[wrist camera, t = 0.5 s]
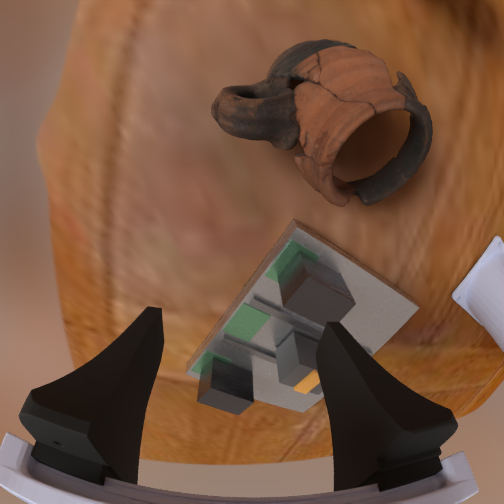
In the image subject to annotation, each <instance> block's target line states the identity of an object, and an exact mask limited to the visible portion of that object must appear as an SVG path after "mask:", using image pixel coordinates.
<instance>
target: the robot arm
mask: <svg viewBox="0 0 504 504" xmlns="http://www.w3.org/2000/svg"><path fill="white" fill-rule="evenodd" d="M452 298H453V299H454V300H455V301H456V302H457V303H458V304H459V305H460V306H461V307H462V308H463V309H464V310H466V311H467V312H468V313H469V314H470V315H471V316H472V317H473V318H474V319H475V320H476V321H477V322H478V323H479V324H480V325H483V326H484V328H485V329H486V330H487V331H488V333H489V334H490V335H491V336H492V338H493V339H494V340H495V342H496V343H497V344H498V346H499V347H500V348H501V350H502V351H503V352H504V243H503V241H502V239H501V238H500V237H499V236H495V238H494V239H493V240H492V242H491V243H490V245H489V246H488V248H487V249H486V250H485V252H484V253H483V255H482V256H481V257H480V259H479V260H478V261H477V263H476V264H475V265H474V267H473V268H472V269H471V271H470V272H469V273H468V275H467V276H466V277H465V278H464V280H463V281H462V282H461V283H460V285H459V286H458V287H457V288H456V289H455V291H454V292H453V293H452ZM163 347H164V333H163V321H162V308H156V307H149V306H148V307H147V308H146V309H145V310H144V311H143V312H142V313H141V314H140V315H139V316H138V317H137V318H136V320H135V321H134V322H133V323H132V324H131V325H130V326H129V327H128V328H127V329H126V330H125V331H124V332H123V333H122V334H121V335H120V336H119V337H118V338H117V339H116V340H115V341H113V342H112V343H111V344H110V345H109V346H108V347H107V348H106V349H104V350H103V351H102V352H101V353H100V354H98V355H97V356H96V357H94V358H93V359H92V360H90V361H89V362H87V363H86V364H84V365H83V366H81V367H80V368H78V369H76V370H75V371H73V372H71V373H70V374H68V375H66V376H64V377H62V378H60V379H58V380H56V381H54V382H51V383H49V384H46V385H44V386H41V387H39V388H36V389H33V390H31V392H30V393H29V395H28V397H27V399H26V401H25V403H24V405H23V407H22V409H21V412H20V414H19V418H20V421H21V423H22V424H23V426H24V427H25V428H26V429H27V430H28V431H29V433H30V434H31V435H32V436H33V437H34V438H35V440H36V443H35V445H34V446H33V445H32V444H30V443H29V442H27V441H25V440H23V439H21V438H19V437H17V436H15V435H13V434H11V433H9V432H8V433H6V435H5V437H4V440H3V442H2V445H1V447H0V486H1V487H3V488H4V489H5V490H7V491H8V492H10V493H12V494H13V495H15V496H16V497H18V498H20V499H21V500H23V501H25V502H27V503H29V504H459V503H461V502H463V501H464V500H466V499H468V498H469V497H471V496H473V495H474V494H476V493H477V492H478V490H479V489H478V487H477V484H476V481H475V479H474V476H473V473H472V471H471V468H470V466H469V464H468V461H467V459H466V456H465V454H464V452H463V451H461V452H458V453H456V454H453V455H451V456H448V457H446V458H444V459H442V460H441V461H440V459H439V455H440V454H441V450H440V446H441V445H442V444H444V443H445V442H446V441H447V440H448V439H449V438H450V437H451V436H452V435H453V434H454V433H455V431H456V430H457V427H458V424H457V421H456V419H455V417H454V415H453V413H452V411H451V410H450V409H448V408H446V407H443V406H441V405H439V404H436V403H434V402H432V401H430V400H428V399H426V398H425V397H423V396H421V395H419V394H418V393H416V392H414V391H413V390H411V389H410V388H408V387H407V386H405V385H404V384H402V383H401V382H400V381H398V380H397V379H396V378H395V377H393V376H392V375H391V374H390V373H388V372H387V371H386V370H385V369H384V368H383V367H382V366H381V365H380V364H378V363H377V362H376V361H375V360H374V359H373V358H372V357H371V356H370V355H369V354H368V353H367V352H366V351H365V349H364V348H363V347H362V346H361V345H360V344H359V343H358V342H357V341H356V340H355V338H354V337H353V336H352V335H351V334H350V333H349V332H348V331H347V329H346V328H345V327H344V326H343V325H342V324H341V323H340V322H329V321H327V323H326V326H325V328H324V331H323V334H322V337H321V340H320V342H319V345H318V348H317V351H316V353H315V354H316V363H317V370H318V375H319V379H320V383H321V387H322V391H323V395H324V398H325V402H326V406H327V410H328V414H329V419H330V426H331V434H332V445H333V459H334V492H328V493H321V494H312V495H302V496H288V497H264V498H263V497H261V498H245V497H219V496H207V495H196V494H188V493H180V492H173V491H167V490H161V489H155V488H150V487H145V486H140V485H137V481H138V465H139V455H140V446H141V438H142V431H143V424H144V419H145V413H146V408H147V404H148V400H149V397H150V394H151V391H152V388H153V384H154V381H155V378H156V375H157V372H158V369H159V365H160V362H161V357H162V352H163Z"/></svg>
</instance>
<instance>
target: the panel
mask: <svg viewBox="0 0 504 504" xmlns="http://www.w3.org/2000/svg"><path fill="white" fill-rule="evenodd" d="M418 309H419V307H418V305H417V304H416V302H415V301H414V300H413V298H411V297H410V296H409V295H407V294H406V293H404V292H403V291H402V290H400V289H399V288H397V287H396V286H395V285H393V284H392V283H390V282H389V281H387V280H386V279H384V278H383V277H382V276H380V275H379V274H377V273H376V272H374V271H373V270H371V269H370V268H368V267H367V266H365V265H364V264H362V263H361V262H360V261H358V260H357V259H355V258H354V257H352V256H351V255H349V254H348V253H346V252H344V251H343V250H341V249H340V248H338V247H337V246H335V245H334V244H332V243H331V242H329V241H328V240H326V239H325V238H323V237H321V236H320V235H318V234H317V233H315V232H314V231H312V230H311V229H309V228H307V227H306V226H304V225H303V224H301V223H299V222H298V221H296V220H295V219H293V221H292V222H291V223H290V225H289V226H288V227H287V229H286V230H285V232H284V233H283V234H282V236H281V237H280V238H279V240H278V241H277V243H276V244H275V245H274V247H273V248H272V249H271V251H270V252H269V254H268V255H267V256H266V258H265V259H264V260H263V262H262V263H261V264H260V266H259V267H258V269H257V270H256V271H255V273H254V274H253V275H252V277H251V278H250V279H249V281H248V282H247V283H246V285H245V286H244V288H243V289H242V290H241V292H240V293H239V294H238V296H237V297H236V298H235V300H234V301H233V302H232V304H231V305H230V306H229V308H228V309H227V310H226V312H225V313H224V315H223V316H222V317H221V319H220V320H219V321H218V323H217V324H216V325H215V327H214V328H213V329H212V331H211V332H210V333H209V335H208V336H207V337H206V339H205V340H204V341H203V343H202V344H201V345H200V347H199V348H198V349H197V351H196V352H195V353H194V355H193V356H192V357H191V358H190V360H189V361H188V362H187V368H186V374H187V375H189V376H192V377H194V378H197V379H199V380H200V381H199V389H198V398H197V402H200V403H202V404H205V405H208V406H211V407H214V408H217V409H220V410H223V411H227V412H230V413H233V414H236V415H239V414H241V413H242V412H243V411H244V410H245V409H247V408H248V407H249V406H250V405H251V404H253V403H254V399H256V400H259V401H263V402H266V403H269V404H273V405H276V406H280V407H283V408H287V409H291V410H294V411H298V412H302V413H303V412H305V411H306V410H307V409H309V408H310V407H311V406H313V405H314V404H315V403H317V402H318V401H319V400H321V399H322V398H323V397H324V395H323V392H322V393H320V394H319V395H316V394H313V393H310V392H308V393H307V394H304V393H301V392H297V391H294V387H291V386H287V385H284V384H281V383H279V378H278V369H277V361H276V352H275V350H276V349H277V348H278V347H279V346H280V345H281V344H282V343H283V342H284V341H285V340H286V339H287V338H288V337H289V336H290V335H291V334H292V333H293V332H295V333H297V334H300V335H302V336H304V337H306V338H309V339H311V340H313V341H316V342H318V343H319V342H320V340H321V337H322V334H323V331H324V328H325V326H326V323H327V321H329V322H340V323H341V324H342V325H343V326H344V327H345V328H346V329H347V331H348V332H349V333H350V334H351V335H352V336H353V337H354V338H355V340H356V341H357V342H358V343H359V344H360V345H361V346H362V347H363V348H364V349H365V351H366V352H367V353H368V354H369V355H370V356H372V355H373V354H374V353H375V352H377V351H378V350H379V349H380V348H381V347H382V346H383V345H384V344H385V343H386V342H387V341H388V340H389V339H390V338H391V337H392V336H393V335H394V334H395V333H396V332H397V331H398V330H399V329H400V328H401V327H402V326H403V325H404V324H405V323H406V322H407V321H408V320H409V319H410V318H411V316H412V315H413V314H414V313H415V312H416V311H417V310H418Z"/></svg>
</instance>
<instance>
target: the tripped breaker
mask: <svg viewBox="0 0 504 504" xmlns="http://www.w3.org/2000/svg"><path fill="white" fill-rule="evenodd" d="M318 345H319V343H318V342H316V341H313V340H311V339H309V338H306V337H304V336H302V335H300V334H297V333H295V332H293V333H292V334H291V335H290V336H289V337H288V338H287V339H286V340H285V341H284V342H283V343H282V344H281V345H280V346H279V347H278V348H277V349H276V350H275V352H276V361H277V369H278V378H279V383H281V384H284V385H287V386H291V387H294V391H297V392H301V393H304V394H307V393H308V392H310V393H313V394H316V395H319V394H320V393H322V392H323V391H322V387H321V383H320V379H319V375H318V370H317V363H316V354H315V353H316V351H317V348H318Z"/></svg>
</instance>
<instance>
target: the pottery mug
mask: <svg viewBox="0 0 504 504" xmlns="http://www.w3.org/2000/svg"><path fill="white" fill-rule="evenodd" d="M397 77H398V79H399V81H398V84H397V85H396V86H394V87H393V86H392V83H391V77H390V75H389V73H388V69H387V67H386V66H385V63H384V61H383V60H382V59H380V58H378V57H377V56H375V55H374V54H373V53H371V52H370V51H366V50H359V49H357V48H356V47H355V46H352V45H350V44H348V43H345V42H341V41H337V40H326V39H325V40H319V41H306V42H303V43H300V44H297V45H295V46H293V47H291V48H289V49H288V50H286V51H285V52H283V53H282V54H281V55H280V56H279V57H278V58H277V59H276V61H275V62H274V63H273V65H272V66H271V68H270V69H269V71H268V73H267V79H266V80H263V81H261V82H259V83H257V84H253V85H244V86H230V87H226V88H223V89H222V90H221V91H220V93H219V95H218V96H217V98H216V99H215V101H214V102H213V104H212V107H211V108H212V109H211V113H212V116H213V118H214V119H215V120H216V121H217V123H218V124H219V126H220V127H221V128H222V129H223V130H224V131H225V132H227V133H228V134H230V135H233V136H236V137H239V138H244V139H249V140H266V141H270V142H271V143H272V145H273V146H275V147H278V148H281V149H284V150H288V149H292V148H293V147H294V146H295V145H296V144H297V141H298V140H300V143H301V146H302V147H303V149H304V153H298V154H296V155H295V156H294V160H295V162H296V164H297V166H298V168H299V170H300V172H301V173H302V175H303V177H304V179H305V180H306V181H307V182H308V183H309V184H310V185H311V186H312V187H313V188H314V189H315V190H316V191H318V192H320V193H321V194H322V195H323V197H324V198H325V199H327V200H328V202H330V203H332V204H334V205H336V206H340V207H344V206H345V205H346V204H347V203H348V202H349V196H351V195H357V196H358V197H359V198H360V200H361V202H362V203H363V204H364V205H366V206H368V205H372V204H374V203H377V202H379V201H381V200H383V199H385V198H387V197H389V196H390V195H392V194H393V193H395V192H396V191H397V190H399V189H400V188H401V187H402V186H403V185H404V184H405V183H406V182H407V181H408V180H409V179H410V178H411V177H412V176H413V175H414V174H415V173H416V172H417V171H418V169H419V167H420V166H421V164H422V163H423V161H424V160H425V158H426V156H427V153H428V152H429V149H430V146H431V142H432V134H433V131H432V120H431V117H430V114H429V112H428V110H427V107H426V106H425V105H422V104H421V103H420V102H419V101H418V99H417V96H416V93H415V91H414V89H413V87H412V85H411V83H410V81H409V80H408V78H407V77H406V76H405V75H404V74H403V73H401V72H399V71H398V72H397ZM291 80H299V81H304V83H301V84H299V85H298V86H296V88H295V89H294V90H293V91H292V90H291V89H290V83H291ZM402 109H403V110H406V111H408V112H410V113H411V114H410V130H409V134H408V137H407V139H406V141H405V142H404V144H403V145H402V147H401V149H400V151H399V153H398V155H397V157H396V158H392V159H391V160H390V161H389V162H388V163H387V164H386V165H385V166H384V167H383V168H382V169H380V170H379V171H378V172H376V173H375V174H374V175H372V176H369V177H367V178H364V179H361V180H356V181H352V182H348V183H345V182H343V181H341V180H339V179H338V178H336V177H334V176H333V162H334V160H335V158H336V156H337V154H338V152H339V150H340V149H341V147H342V146H343V144H344V143H345V141H346V140H347V139H348V138H349V137H350V135H351V134H352V133H353V132H354V131H355V130H356V129H357V128H358V127H359V126H360V125H361V124H363V123H364V122H366V121H367V120H369V119H370V118H372V117H373V116H374V115H375V114H380V113H383V112H385V111H390V110H402Z"/></svg>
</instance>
